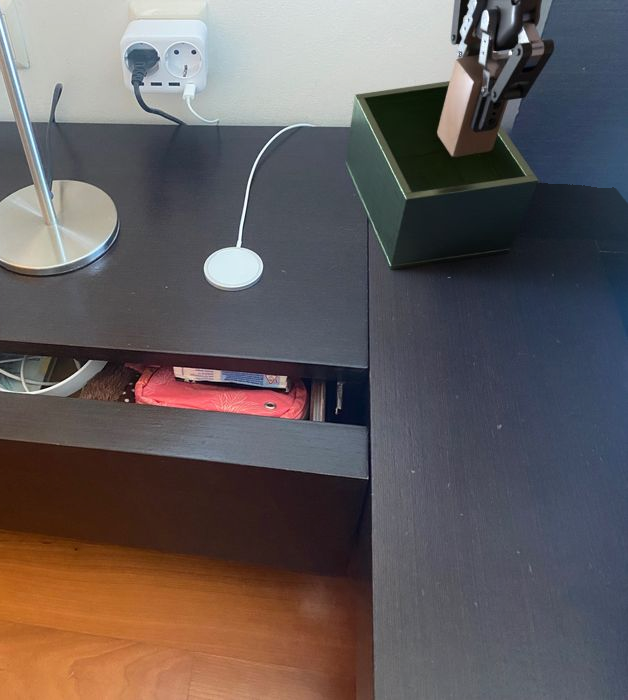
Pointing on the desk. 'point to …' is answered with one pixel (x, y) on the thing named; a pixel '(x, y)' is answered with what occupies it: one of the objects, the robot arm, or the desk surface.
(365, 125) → the waste bin
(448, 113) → the wooden block
